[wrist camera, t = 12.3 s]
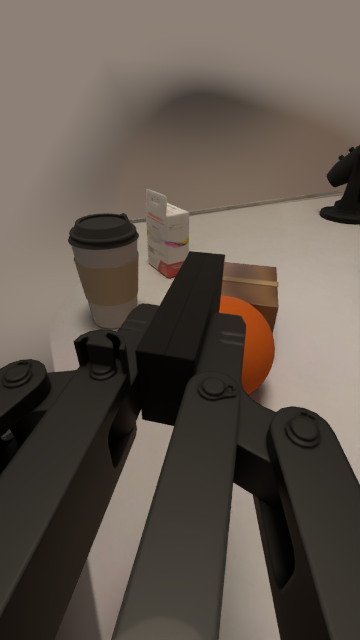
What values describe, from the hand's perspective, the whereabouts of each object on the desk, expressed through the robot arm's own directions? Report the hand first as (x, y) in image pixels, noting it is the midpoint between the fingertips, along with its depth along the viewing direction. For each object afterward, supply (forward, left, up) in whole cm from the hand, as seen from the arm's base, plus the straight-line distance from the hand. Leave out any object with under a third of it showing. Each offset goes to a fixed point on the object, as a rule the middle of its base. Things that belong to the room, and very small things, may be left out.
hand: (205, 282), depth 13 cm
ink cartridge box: (-21, +39, -20) cm, 49 cm away
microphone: (+13, +94, -20) cm, 97 cm away
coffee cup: (-21, +20, -20) cm, 35 cm away
